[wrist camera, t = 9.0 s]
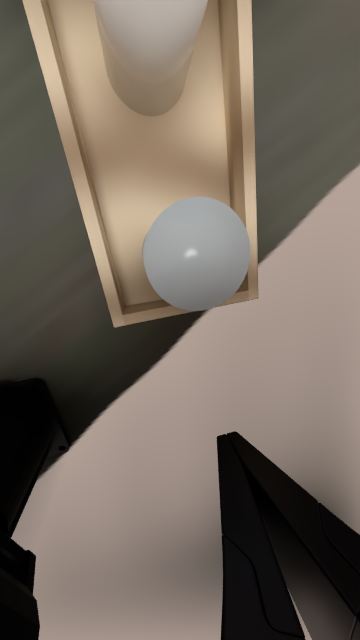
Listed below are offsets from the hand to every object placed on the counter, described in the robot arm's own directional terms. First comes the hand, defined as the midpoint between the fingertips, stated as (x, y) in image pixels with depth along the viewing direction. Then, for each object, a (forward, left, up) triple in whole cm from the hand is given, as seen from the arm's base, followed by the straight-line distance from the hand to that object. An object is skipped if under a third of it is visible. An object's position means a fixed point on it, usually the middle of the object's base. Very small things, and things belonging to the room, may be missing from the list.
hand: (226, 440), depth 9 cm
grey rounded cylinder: (+7, 0, -7) cm, 10 cm away
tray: (+12, 0, -8) cm, 14 cm away
